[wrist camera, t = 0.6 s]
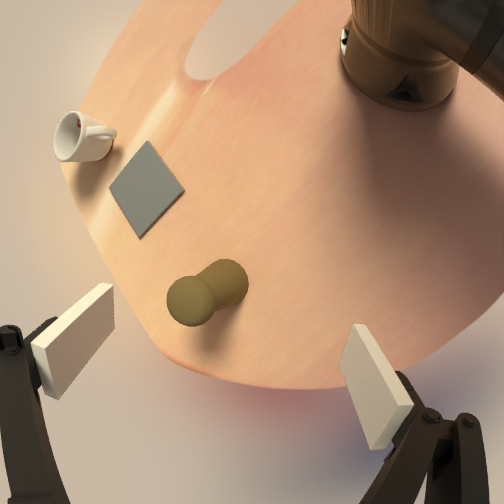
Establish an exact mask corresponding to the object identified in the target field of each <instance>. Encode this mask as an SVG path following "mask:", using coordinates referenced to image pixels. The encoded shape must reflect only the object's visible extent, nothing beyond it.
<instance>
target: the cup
mask: <svg viewBox="0 0 504 504" xmlns="http://www.w3.org/2000/svg"><path fill="white" fill-rule="evenodd" d="M116 136H117V131H116V130H115V129H114V128H111V127H109V126H108V125H107V124H106V123H104V122H102V121H100V120H97V119H95V118H93V117H90V116H88V115H86V114H83V113H81V112H79V111H71V112H69V113H67V114H66V115H65V116H64V117H63V118H62V119H61V121H60V123H59V124H58V126H57V129H56V132H55V136H54V141H53V148H54V153H55V156H56V158H57V159H58V160H60V161H61V162H91V161H98V160H100V159H102V158H104V157H105V156H106V155H107V153H108V152H109V150H110V148H111V145H112V140H113V139H115V138H116Z"/></svg>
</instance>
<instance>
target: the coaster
mask: <svg viewBox="0 0 504 504" xmlns="http://www.w3.org/2000/svg"><path fill="white" fill-rule="evenodd" d="M109 189H110V191H111V193H112V194H113V196H114V198H115V199H116V201H117V203H118V204H119V206H120V208H121V209H122V211H123V213H124V214H125V216H126V218H127V219H128V221H129V222H130V224H131V226H132V227H133V229H134V230H135V232H136V234H137V235H138V237H142V236H143V234H144V233H145V232H146V231H147V230H148V229H149V228H150V227H151V226H152V224H153V223H154V222H155V221H156V220H157V219H158V218H159V217H160V216H161V215H162V214H163V213H164V212H165V211H166V209H167V208H168V207H169V206H170V205H171V204H172V203H173V202H174V201H175V200H176V199H177V198H178V197H179V196H180V195H181V194H182V193H183V192H184V191H185V190H184V188H183V187H182V186H181V184H180V183H179V182H178V180H177V179H176V178H175V176H174V175H173V173H172V172H171V171H170V169H169V168H168V167H167V165H166V164H165V162H164V161H163V160H162V158H161V157H160V156H159V154H158V153H157V151H156V150H155V149H154V147H153V146H152V144H151V143H150V142H149V141H146V142H145V143H144V145H143V146H142V147H141V148H140V149H139V150H138V152H137V153H136V154H135V155H134V156H133V158H132V159H131V160H130V161H129V163H128V164H127V165H126V166H125V167H124V169H123V170H122V171H121V173H120V174H119V175H118V176H117V178H116V179H115V180H114V182H113V183H112V184H111V185H110V187H109Z"/></svg>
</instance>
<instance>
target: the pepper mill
mask: <svg viewBox="0 0 504 504" xmlns="http://www.w3.org/2000/svg"><path fill="white" fill-rule="evenodd" d="M248 285H249V283H248V277H247V274H246V272H245V270H244V269H243V268H242V267H241V265H240V264H238V263H236V262H235V261H233V260H229V259H220V260H218V261H216V262H214V263H212V264H211V265H210V266H208V267H207V268H206V269H204V270H203V271H201V272H200V273H199V274H197V275H196V276H185V277H182V278H180V279H178V280H176V281H175V282H174V283H173V284H172V286H171V287H170V288H169V291H168V293H167V307H168V310H169V312H170V314H171V315H172V317H173V318H174V319H175V320H176V321H178V322H179V323H181V324H183V325H186V326H193V327H195V326H199V325H202V324H204V323H205V322H207V321H208V320H209V319H210V318H211V317H212V315H213V313H214V311H217V310H219V309H222V308H224V307H227V306H230V305H232V304H235V303H237V302H239V301H241V300H242V299H243V298H244V297H245V295H246V293H247V291H248Z"/></svg>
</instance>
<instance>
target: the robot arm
mask: <svg viewBox="0 0 504 504" xmlns="http://www.w3.org/2000/svg"><path fill="white" fill-rule="evenodd" d="M351 3H352V14H351V16H350V17H349V19H348V21H347V23H346V24H345V26H344V28H343V30H342V33H341V38H340V51H341V58H342V62H343V66H344V68H345V70H346V72H347V74H348V76H349V77H350V79H351V80H352V81H353V83H354V84H355V85H356V86H357V87H358V88H359V89H360V90H361V91H362V92H364V93H365V94H366V95H368V96H369V97H370V98H372V99H374V100H375V101H377V102H379V103H381V104H383V105H386V106H388V107H391V108H395V109H399V110H405V111H420V110H426V109H429V108H432V107H434V106H436V105H438V104H440V103H441V102H442V101H443V100H444V99H445V98H446V97H447V96H448V95H449V93H450V92H451V91H452V89H453V88H454V86H455V84H456V81H457V77H458V65H460V66H461V67H462V68H464V69H465V70H466V71H468V72H469V73H470V74H471V75H473V76H474V77H475V78H476V79H478V80H479V81H480V82H481V83H483V84H484V85H485V86H486V87H488V88H489V89H490V90H491V91H492V92H494V93H495V94H496V95H497V96H498V97H499V98H500V99H501V100H502V101H503V102H504V0H351ZM114 325H115V324H114V299H113V285H111V284H106V283H100V284H99V285H98V286H96V287H95V288H94V289H93V290H91V291H90V292H89V293H88V294H86V295H85V296H84V297H83V298H82V299H80V300H79V301H78V302H77V303H76V304H74V305H73V306H72V307H71V308H70V309H69V310H67V311H66V312H65V313H64V314H63V315H61V316H60V317H59V318H58V317H53V318H50V319H48V320H46V321H45V322H44V323H43V324H41V326H39V327H38V328H37V329H36V331H33V332H32V333H31V334H30V335H29V336H27V337H26V338H25V339H24V340H23V336H22V332H21V330H20V328H19V327H18V326H15V325H5V326H2V327H0V431H1V440H2V448H3V455H4V461H5V467H6V471H7V476H8V482H9V486H10V490H11V498H8V504H70V501H69V499H68V496H67V494H66V491H65V488H64V486H63V483H62V480H61V477H60V474H59V471H58V468H57V465H56V462H55V459H54V456H53V452H52V448H51V445H50V441H49V437H48V434H47V430H46V426H45V421H44V417H43V412H42V407H41V402H40V396H39V393H38V388H39V387H40V386H41V385H42V387H43V390H44V393H45V395H48V396H50V397H52V398H54V399H57V400H59V399H60V398H61V396H62V395H63V394H64V392H65V391H66V390H67V388H68V387H69V386H70V384H71V383H72V382H73V380H74V379H75V378H76V377H77V375H78V374H79V373H80V371H81V370H82V369H83V367H84V366H85V365H86V364H87V362H88V361H89V360H90V358H91V357H92V356H93V355H94V353H95V352H96V351H97V350H98V348H99V347H100V346H101V345H102V343H103V342H104V341H105V340H106V338H107V337H108V336H109V335H110V333H111V332H112V331H113V330H114V329H115V326H114ZM339 366H340V369H341V371H342V374H343V377H344V379H345V382H346V385H347V387H348V390H349V393H350V395H351V398H352V401H353V403H354V406H355V409H356V411H357V414H358V417H359V420H360V423H361V425H362V428H363V431H364V434H365V437H366V439H367V442H368V445H369V448H370V450H380V449H386V447H387V446H388V445H389V443H390V441H391V440H392V442H393V444H394V448H393V449H392V450H391V452H390V453H389V455H388V456H387V457H386V458H385V460H384V462H385V463H384V464H383V466H382V468H381V470H380V471H379V473H378V475H377V476H376V478H375V480H374V481H373V483H372V485H371V486H370V488H369V489H368V491H367V492H366V494H365V495H364V497H363V499H362V500H361V501H360V503H359V504H414V502H415V500H416V497H417V495H418V493H419V491H420V488H421V486H422V483H423V481H424V478H425V476H426V473H427V482H426V483H427V484H426V493H425V501H424V504H490V503H489V485H488V474H487V465H486V457H485V450H484V443H483V438H482V432H481V426H480V423H479V421H478V419H477V418H476V417H475V416H473V415H472V414H469V413H461V414H459V415H458V417H457V418H456V419H455V421H451V420H444V419H443V418H442V416H441V414H439V412H438V411H436V410H434V409H431V408H426V407H425V406H424V404H423V402H422V401H421V399H420V398H419V396H418V395H417V393H416V391H414V388H413V386H412V385H411V383H410V382H409V380H408V378H407V377H406V376H405V375H404V374H402V373H401V372H400V371H394V370H393V368H392V366H391V365H390V363H389V361H388V360H387V358H386V357H385V355H384V353H383V352H382V350H381V349H380V347H379V345H378V344H377V342H376V341H375V339H374V338H373V336H372V334H371V333H370V331H369V330H368V328H367V327H366V325H362V324H353V325H352V328H351V331H350V334H349V337H348V340H347V343H346V345H345V348H344V351H343V354H342V357H341V359H340V362H339Z"/></svg>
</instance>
